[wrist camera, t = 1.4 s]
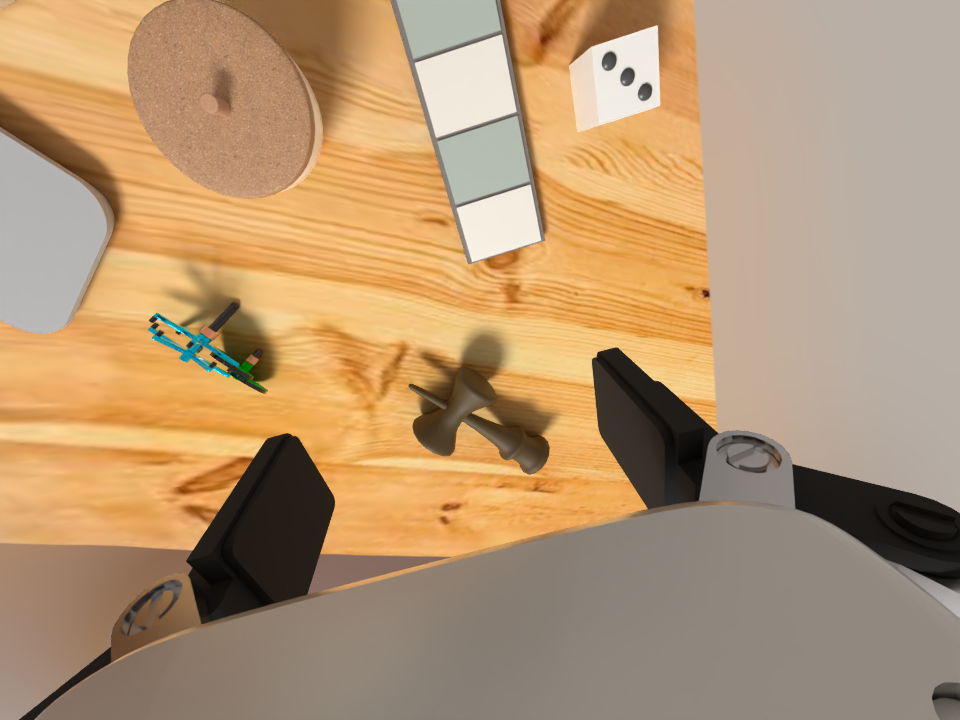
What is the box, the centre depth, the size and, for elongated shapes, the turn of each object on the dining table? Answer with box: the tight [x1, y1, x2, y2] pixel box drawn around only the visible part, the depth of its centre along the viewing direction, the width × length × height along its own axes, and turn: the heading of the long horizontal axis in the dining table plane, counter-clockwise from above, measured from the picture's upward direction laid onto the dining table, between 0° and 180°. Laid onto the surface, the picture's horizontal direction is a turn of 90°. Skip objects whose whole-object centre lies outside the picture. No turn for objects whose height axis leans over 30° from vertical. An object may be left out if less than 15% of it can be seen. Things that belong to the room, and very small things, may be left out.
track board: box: [391, 0, 545, 264], centre depth 30 cm, size 28×8×1 cm, turn 16°
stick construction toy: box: [148, 303, 268, 394], centre depth 36 cm, size 12×7×8 cm
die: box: [569, 25, 660, 133], centre depth 29 cm, size 5×5×5 cm
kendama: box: [409, 367, 550, 475], centre depth 43 cm, size 6×10×20 cm
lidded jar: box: [128, 0, 323, 198], centre depth 26 cm, size 11×11×9 cm
